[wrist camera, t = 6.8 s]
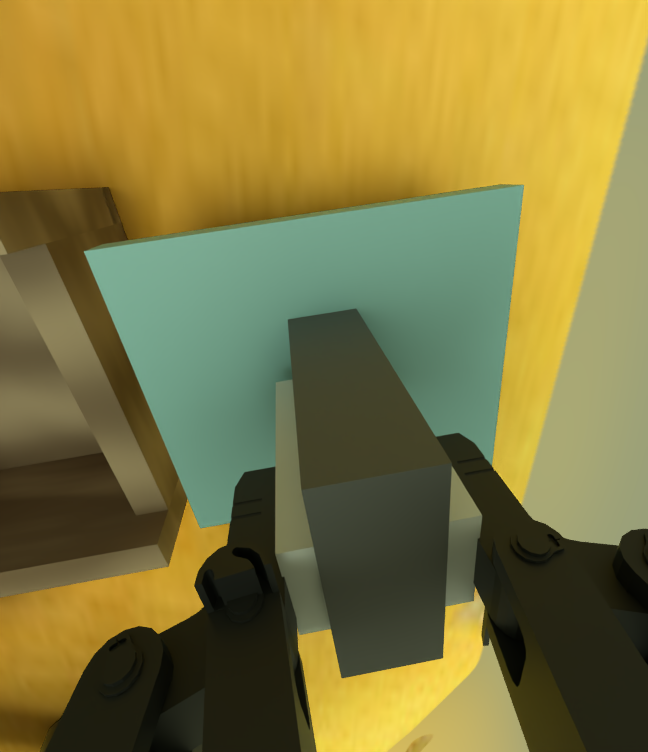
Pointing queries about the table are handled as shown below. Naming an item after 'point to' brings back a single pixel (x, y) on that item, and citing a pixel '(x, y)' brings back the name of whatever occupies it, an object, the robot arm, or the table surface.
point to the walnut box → (72, 408)
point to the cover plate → (300, 270)
